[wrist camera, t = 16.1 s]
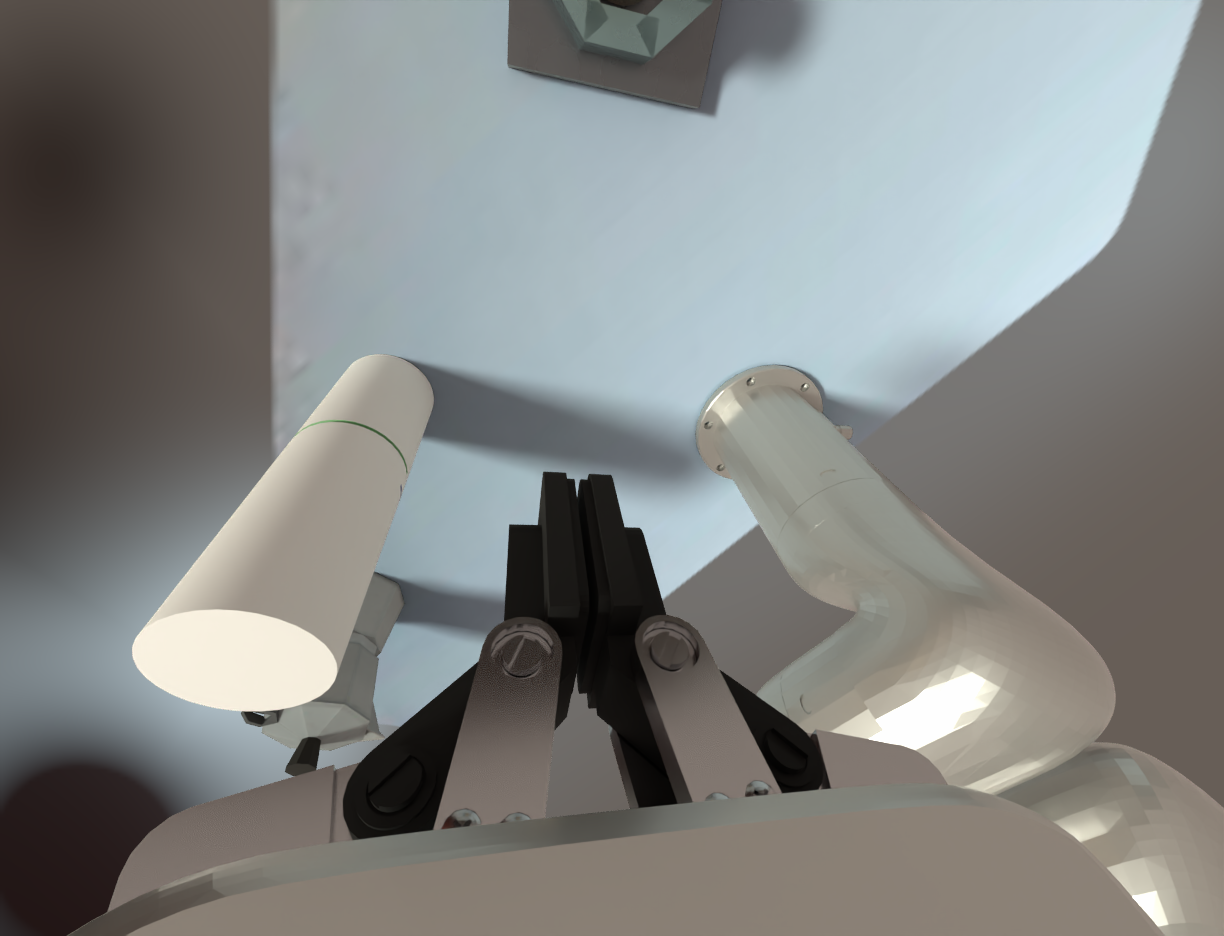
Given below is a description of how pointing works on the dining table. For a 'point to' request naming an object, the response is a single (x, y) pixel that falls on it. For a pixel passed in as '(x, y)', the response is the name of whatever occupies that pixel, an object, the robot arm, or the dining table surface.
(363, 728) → the coffee maker
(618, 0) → the gold round-topped cylinder
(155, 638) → the cylindrical container
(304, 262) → the dining table surface
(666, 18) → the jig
